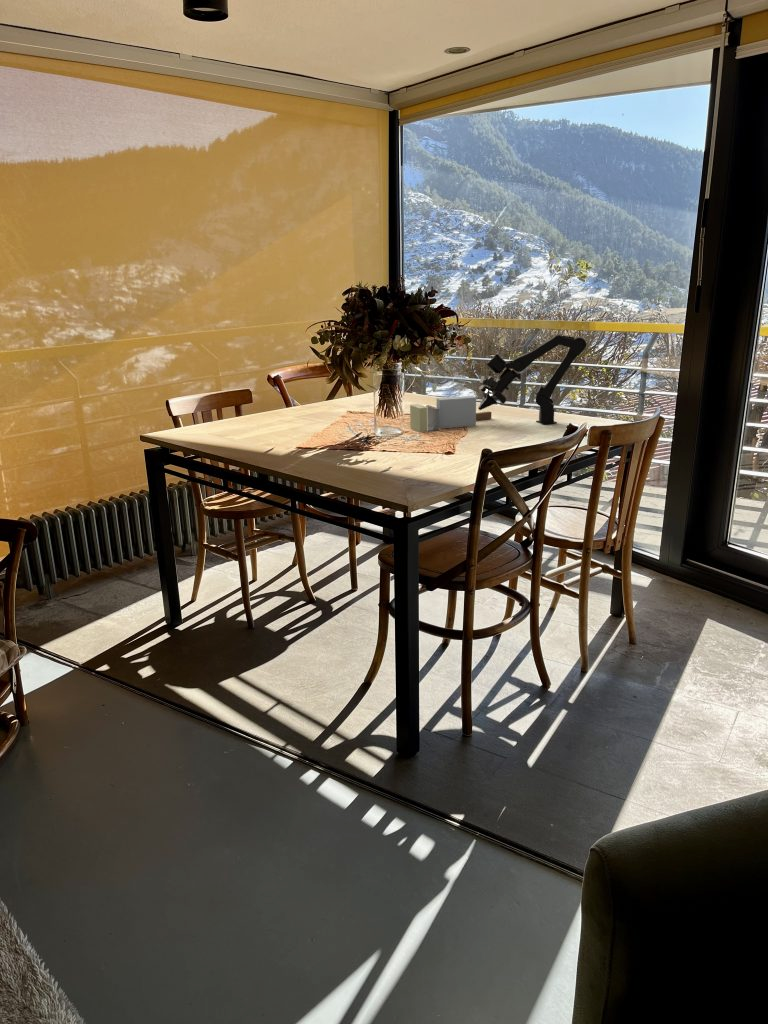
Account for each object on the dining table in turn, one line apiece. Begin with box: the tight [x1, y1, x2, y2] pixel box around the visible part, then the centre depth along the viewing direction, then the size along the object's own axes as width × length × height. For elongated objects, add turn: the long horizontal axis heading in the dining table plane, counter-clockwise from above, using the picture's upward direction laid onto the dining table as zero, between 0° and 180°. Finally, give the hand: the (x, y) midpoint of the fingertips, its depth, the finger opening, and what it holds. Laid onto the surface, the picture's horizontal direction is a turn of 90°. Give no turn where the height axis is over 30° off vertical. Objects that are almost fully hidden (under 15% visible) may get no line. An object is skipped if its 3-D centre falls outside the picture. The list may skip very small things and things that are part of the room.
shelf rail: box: [476, 410, 492, 422], centre depth 335 cm, size 2×30×3 cm, turn 114°
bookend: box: [425, 404, 440, 432], centre depth 322 cm, size 9×6×9 cm
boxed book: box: [436, 395, 477, 429], centre depth 327 cm, size 16×5×12 cm, turn 103°
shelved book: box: [409, 403, 429, 433], centre depth 321 cm, size 9×4×10 cm, turn 23°
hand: (479, 409), depth 329 cm, fingers closed
